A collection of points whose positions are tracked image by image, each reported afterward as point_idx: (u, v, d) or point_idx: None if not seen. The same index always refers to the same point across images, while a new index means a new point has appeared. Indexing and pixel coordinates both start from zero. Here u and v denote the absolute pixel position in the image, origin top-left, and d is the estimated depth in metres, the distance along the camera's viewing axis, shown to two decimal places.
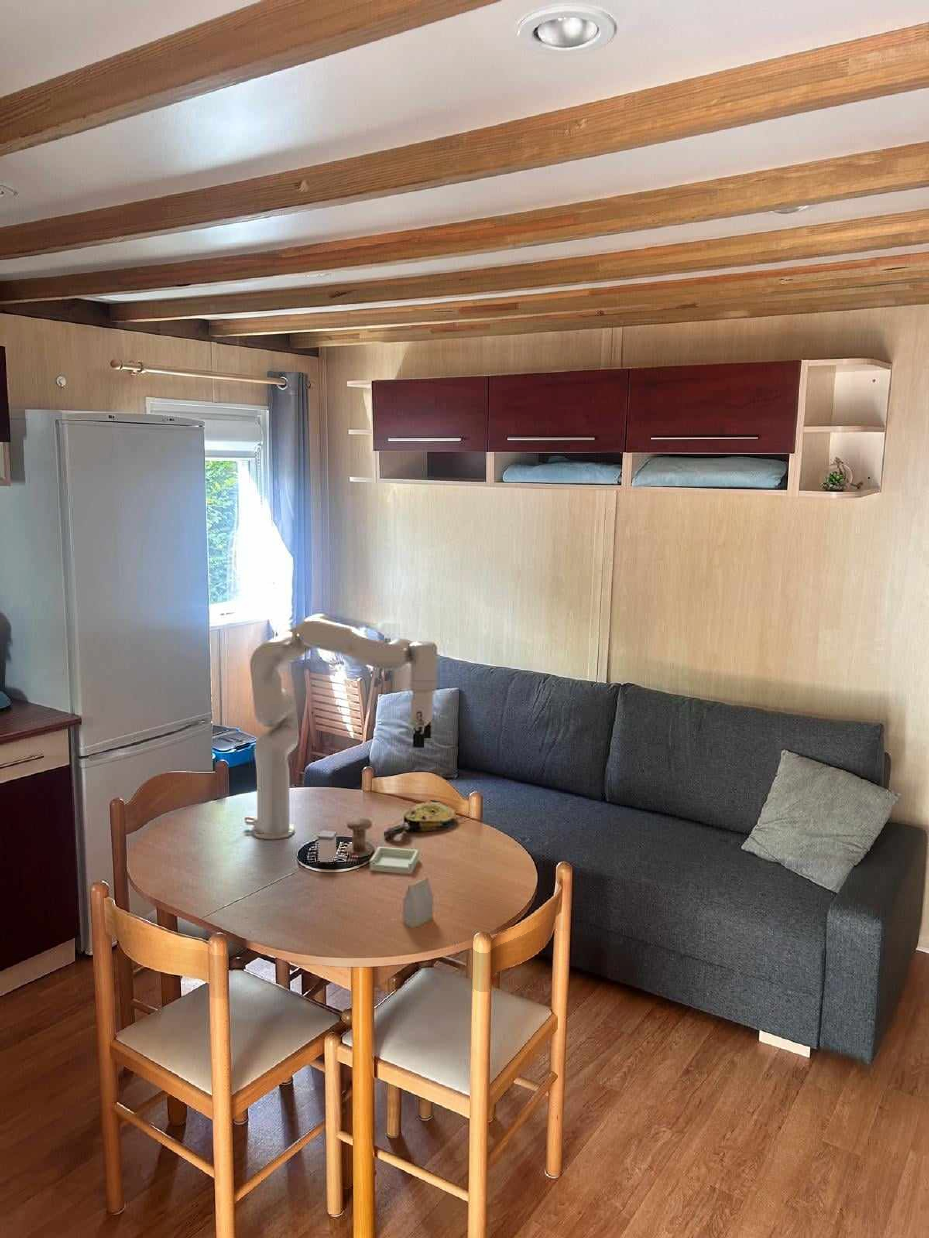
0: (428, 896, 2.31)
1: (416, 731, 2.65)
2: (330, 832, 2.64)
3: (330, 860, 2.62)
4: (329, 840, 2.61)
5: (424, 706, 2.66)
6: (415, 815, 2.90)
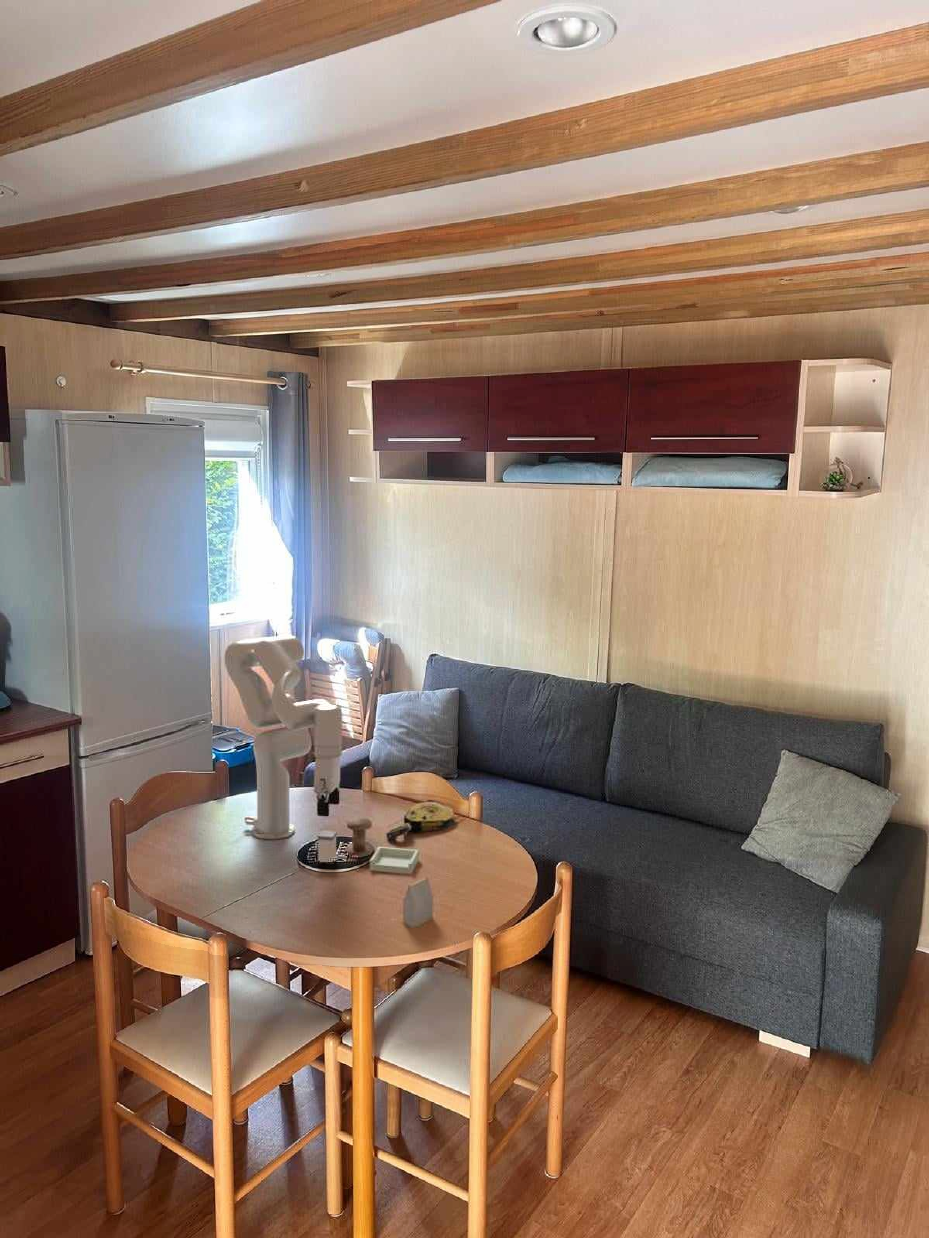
0: (428, 896, 2.31)
1: (319, 799, 2.54)
2: (330, 832, 2.64)
3: (330, 860, 2.62)
4: (329, 840, 2.61)
5: (328, 773, 2.55)
6: (415, 815, 2.89)
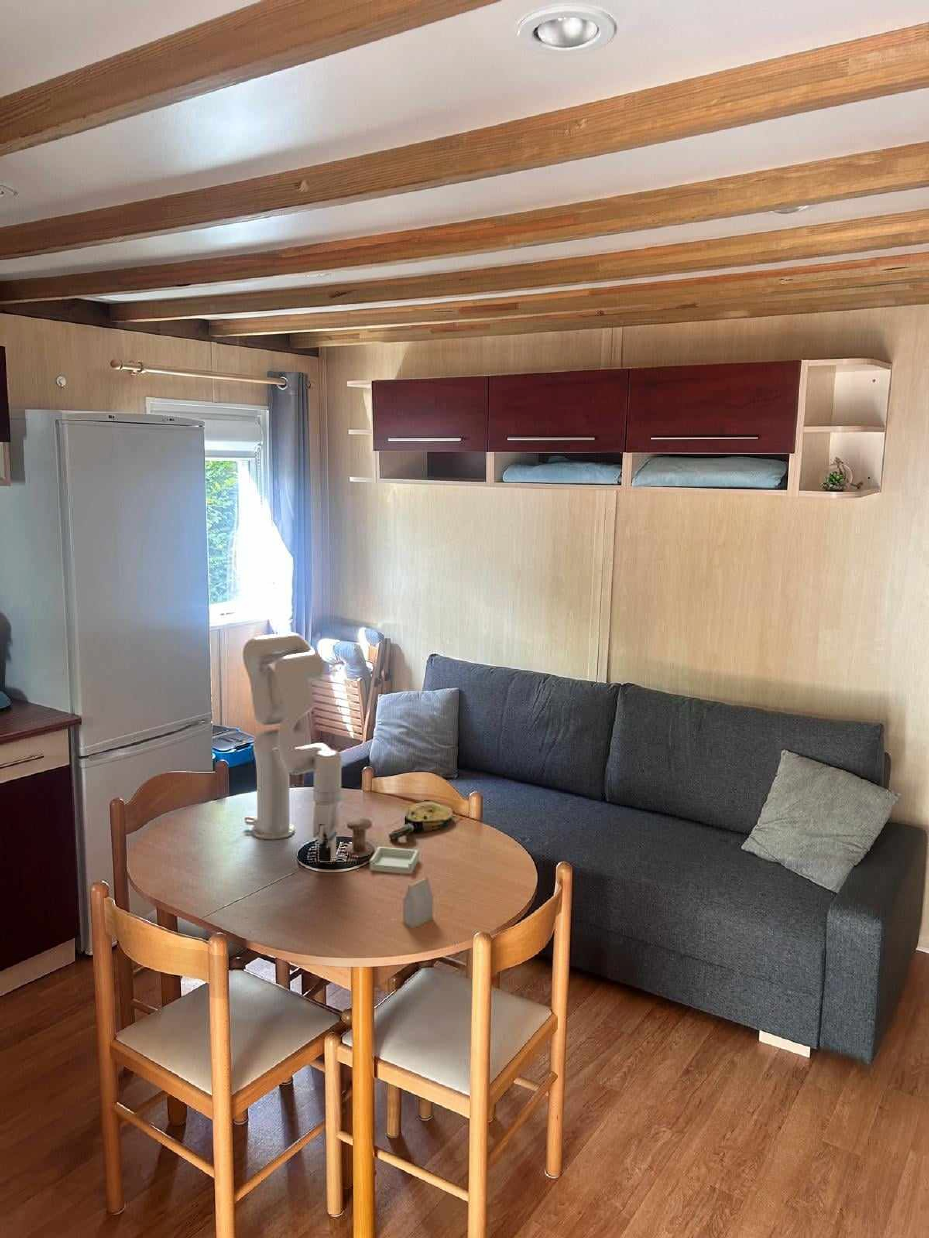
0: (428, 896, 2.31)
1: (321, 845, 2.59)
2: None
3: (330, 860, 2.62)
4: None
5: (327, 818, 2.58)
6: (416, 815, 2.89)
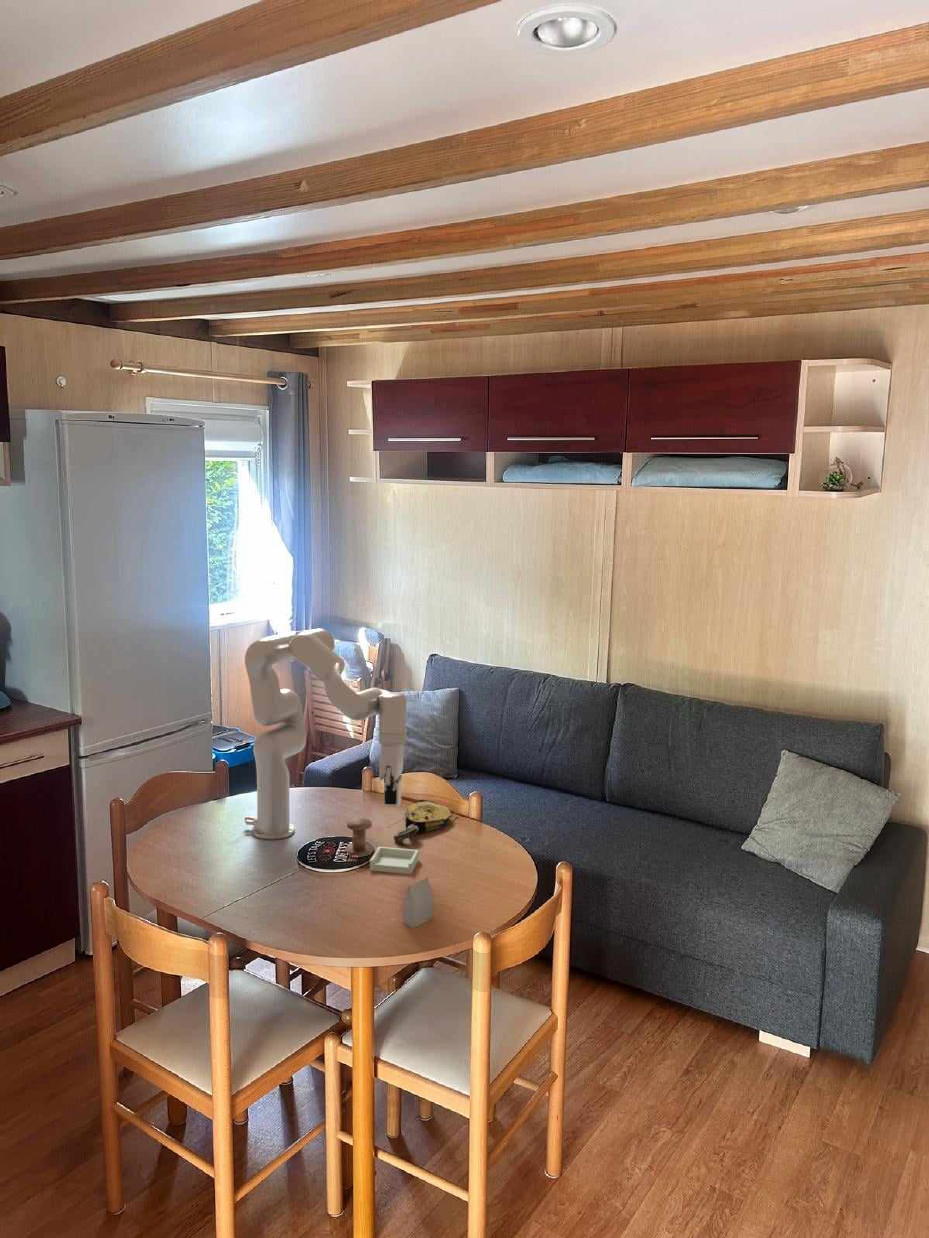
0: (428, 896, 2.31)
1: (387, 788, 2.58)
2: None
3: (396, 803, 2.61)
4: None
5: (393, 760, 2.56)
6: (417, 816, 2.89)
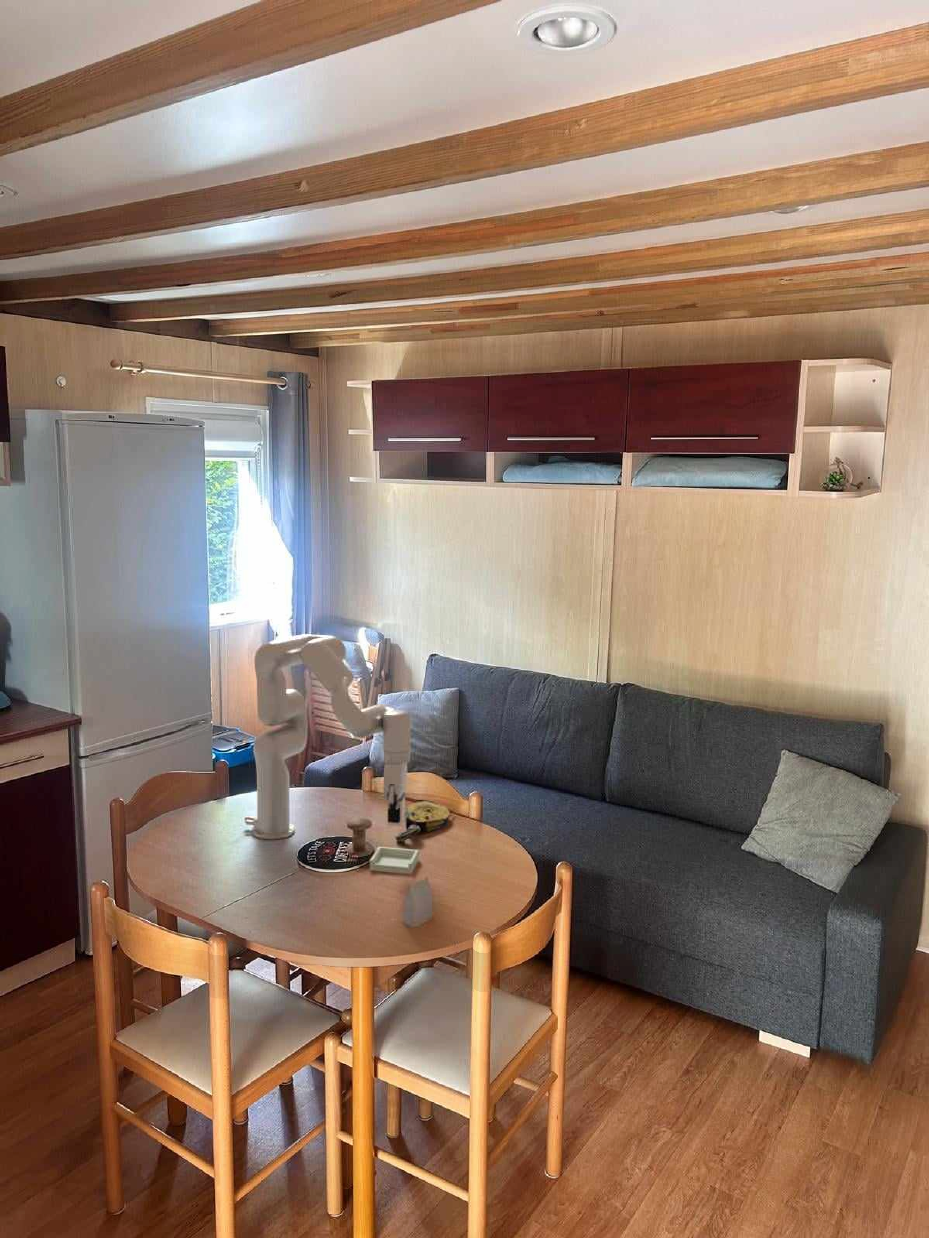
0: (428, 896, 2.31)
1: (391, 806, 2.56)
2: None
3: (400, 821, 2.59)
4: None
5: (397, 778, 2.54)
6: (417, 816, 2.89)
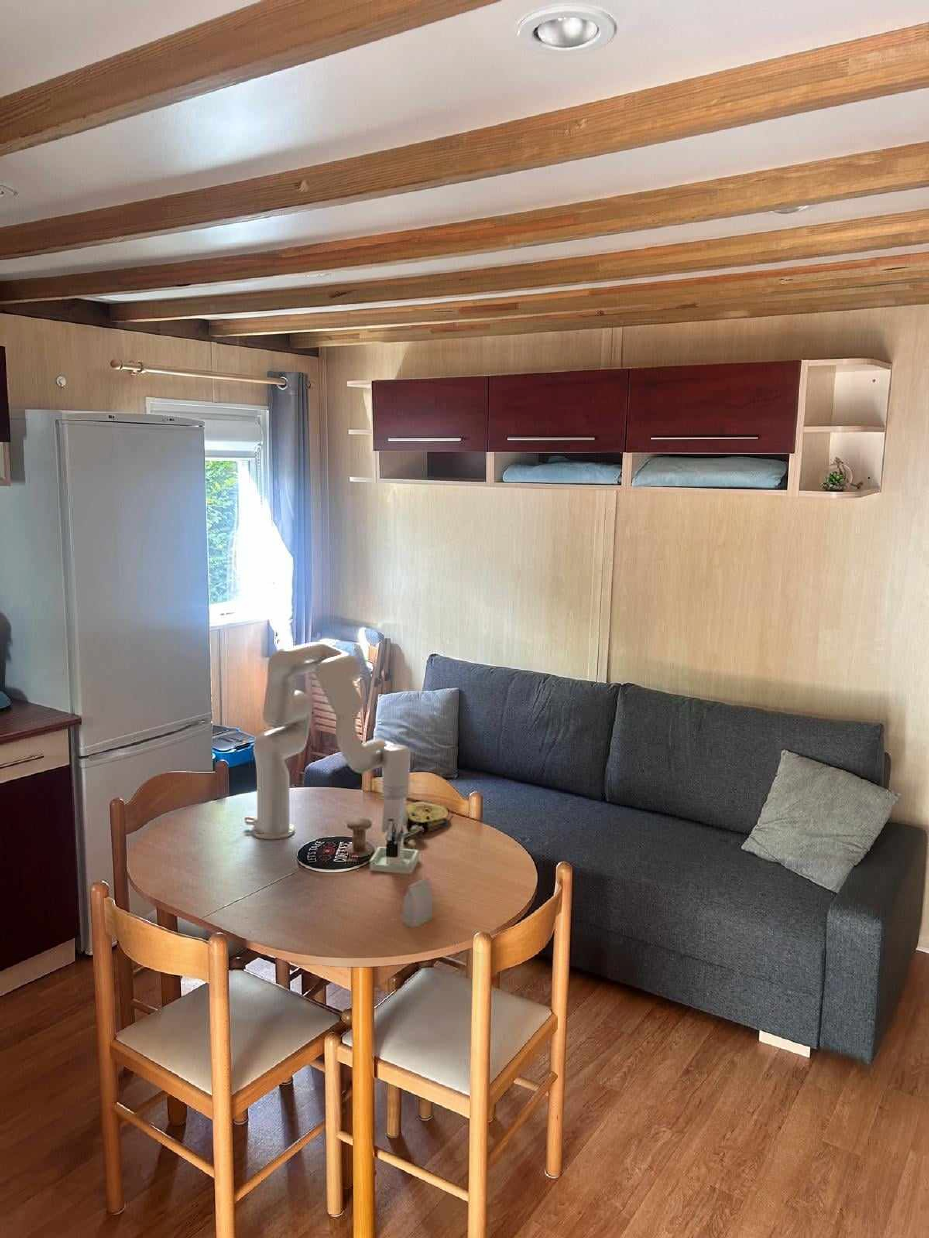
0: (428, 896, 2.31)
1: (389, 841, 2.56)
2: (398, 833, 2.63)
3: (398, 861, 2.61)
4: (397, 841, 2.60)
5: (396, 814, 2.56)
6: (418, 817, 2.88)
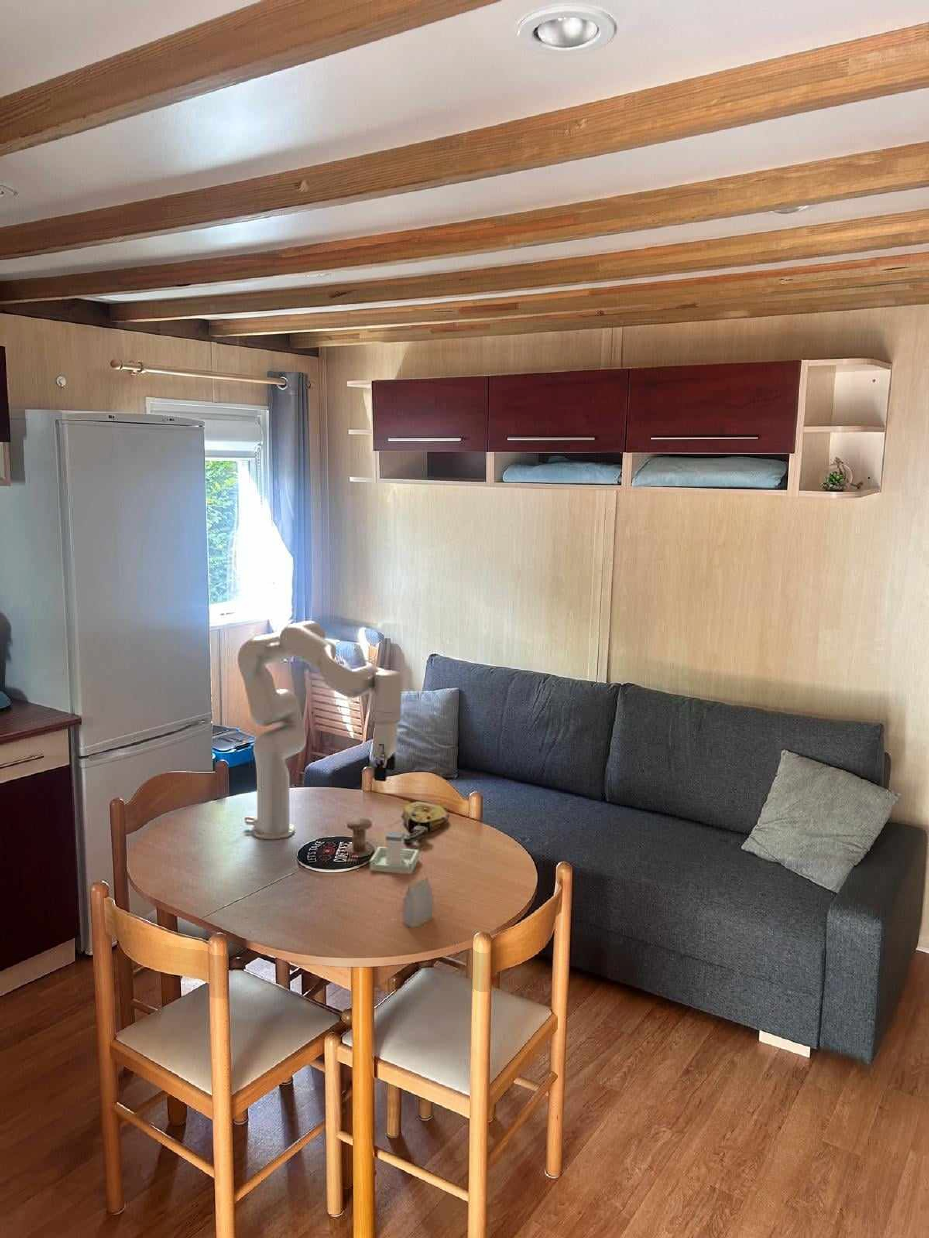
0: (428, 896, 2.31)
1: (378, 764, 2.55)
2: (398, 833, 2.63)
3: (398, 861, 2.61)
4: (397, 840, 2.60)
5: (387, 738, 2.56)
6: (419, 817, 2.88)
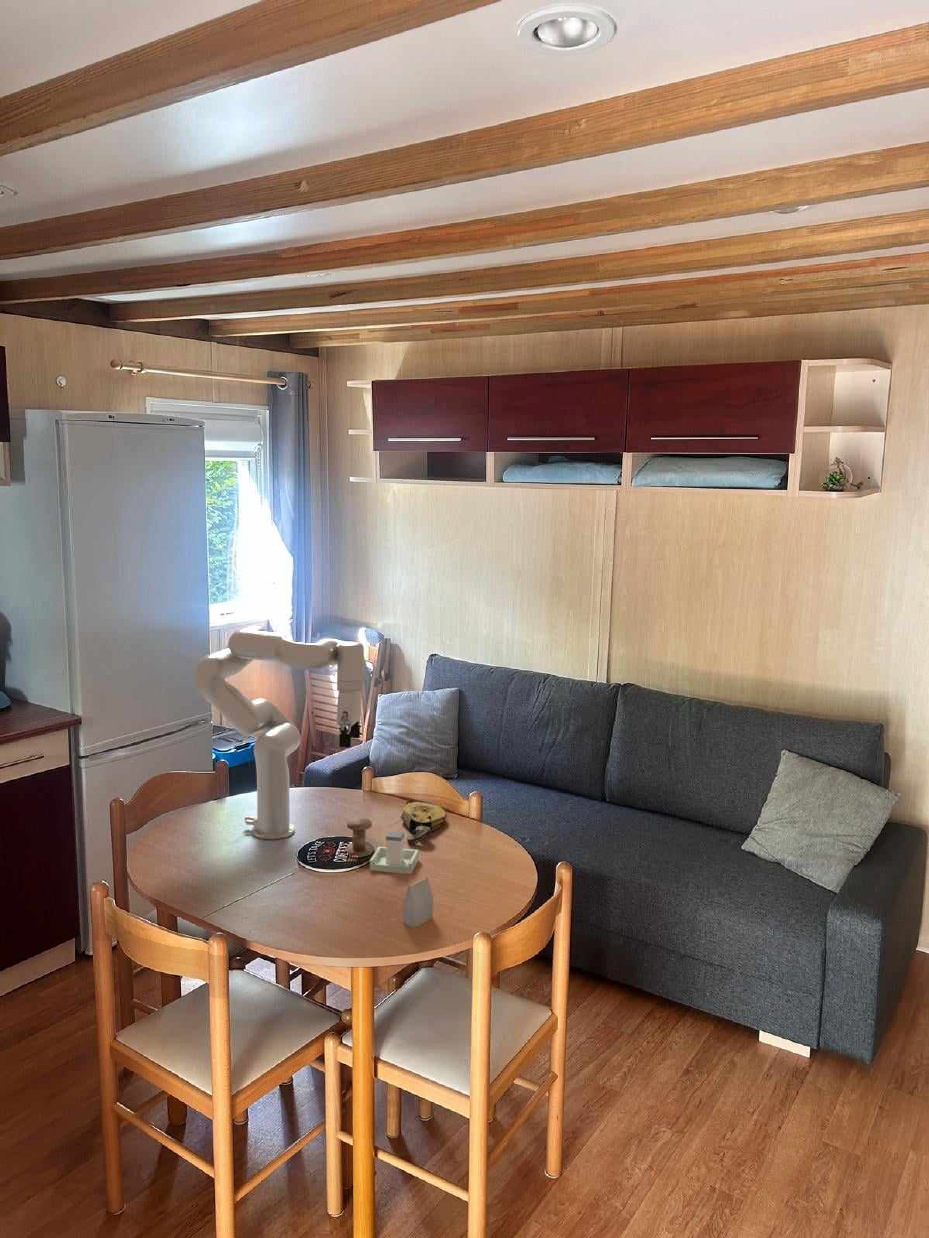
0: (428, 896, 2.31)
1: (342, 731, 2.67)
2: (398, 833, 2.63)
3: (398, 861, 2.61)
4: (397, 840, 2.60)
5: (350, 706, 2.68)
6: (420, 817, 2.88)
